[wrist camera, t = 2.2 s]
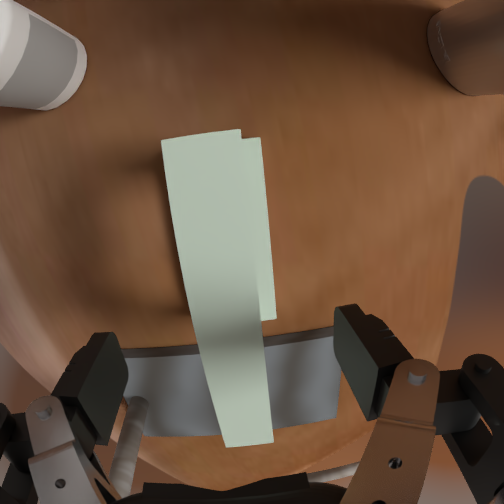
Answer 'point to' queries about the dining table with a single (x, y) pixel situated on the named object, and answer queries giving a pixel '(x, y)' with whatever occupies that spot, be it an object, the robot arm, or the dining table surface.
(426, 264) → the dining table surface
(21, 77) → the spray bottle
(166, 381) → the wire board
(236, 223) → the stand
